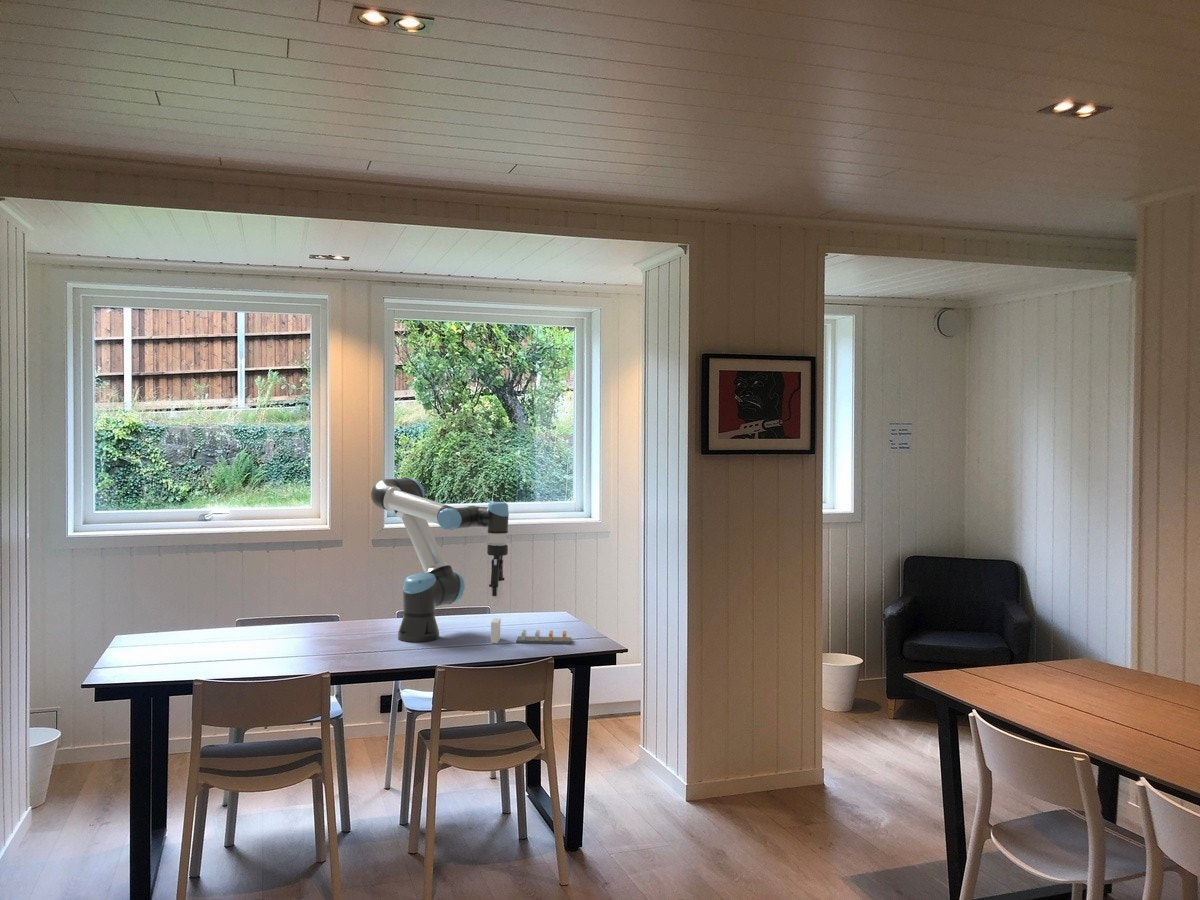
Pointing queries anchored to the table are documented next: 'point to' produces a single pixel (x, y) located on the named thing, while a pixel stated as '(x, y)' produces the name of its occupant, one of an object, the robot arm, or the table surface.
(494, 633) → the panel
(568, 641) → the rack
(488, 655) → the table surface
